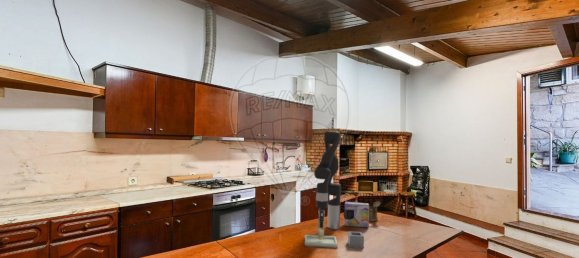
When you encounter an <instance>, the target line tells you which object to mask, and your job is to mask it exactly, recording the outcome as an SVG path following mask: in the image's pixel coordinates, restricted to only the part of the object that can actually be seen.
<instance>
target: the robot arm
mask: <svg viewBox="0 0 579 258" xmlns="http://www.w3.org/2000/svg"><path fill="white" fill-rule="evenodd" d="M323 136H324V137H323V138H324V140H323V141H324V149H325V151H324V152H323V154H322V157H321V160H320V162H319V163H318V165H317V166H316V168H315V169H314V177H315V179H318V180H324V181H323V182H317V184H316V195H315V207H316V208H318V210H317V211H318V218H320V220H319V221H320V228H323V222H324V223H325V219H324V218H325V213H326V211H325V209H327V225H326V226H327V228H328V229H331V230H339V229H340V228H341V226H340V225H341V196H342V185H341V183H337V182H332V180H333V178H334V176H335V175H336V174H337V173H338V171H339V157H337V155H336V152H337V148H338V146H339V145H340V142H341V137H342V136H341V132H340V131H336V130H335V131H334V130H326V131H324V135H323ZM329 196H335V198H332V199H331V198H330V199H329ZM321 218H322V219H323V220H321Z"/></svg>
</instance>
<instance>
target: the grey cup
mask: <svg viewBox="0 0 579 258" xmlns="http://www.w3.org/2000/svg"><path fill="white" fill-rule="evenodd" d="M347 244H348V246H349V248H355V247H356V248H357V249H358V248H359V249H361V248H362V249H364V248H365V247H364V245H365V236H364V234H363V232H361V231H351V230H350V231H348V232H347Z"/></svg>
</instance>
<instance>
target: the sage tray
mask: <svg viewBox="0 0 579 258" xmlns="http://www.w3.org/2000/svg"><path fill="white" fill-rule="evenodd" d="M304 246H305V247H312V248H313V247H314V248H331V249H332V248H333V249H338V241H337V237H336V236H334V235H324V239H323V240H319V239H318V234H305V235H304Z"/></svg>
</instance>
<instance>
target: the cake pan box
mask: <svg viewBox="0 0 579 258" xmlns="http://www.w3.org/2000/svg"><path fill="white" fill-rule="evenodd" d="M369 206H370V205H369V203H366V202H365V203H363V202H357V201H356V202H353V201H345V202H344V211H343V219H344V226H350V227H358V228H359V227H361V228H369V227H370V221H369Z"/></svg>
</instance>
